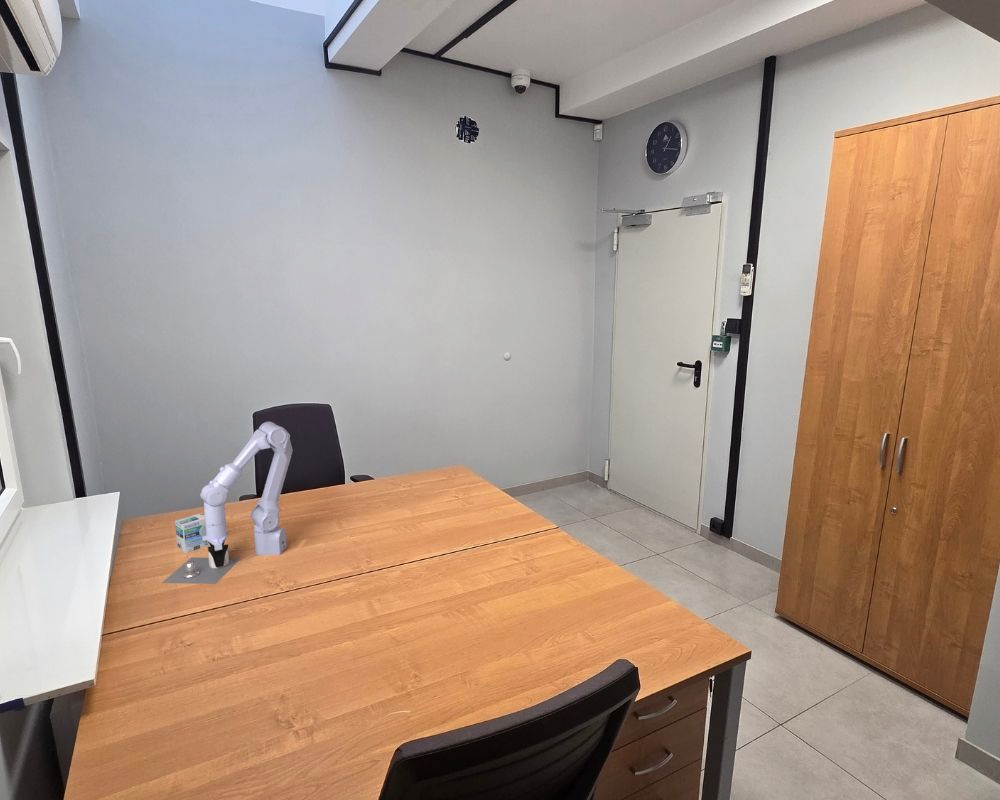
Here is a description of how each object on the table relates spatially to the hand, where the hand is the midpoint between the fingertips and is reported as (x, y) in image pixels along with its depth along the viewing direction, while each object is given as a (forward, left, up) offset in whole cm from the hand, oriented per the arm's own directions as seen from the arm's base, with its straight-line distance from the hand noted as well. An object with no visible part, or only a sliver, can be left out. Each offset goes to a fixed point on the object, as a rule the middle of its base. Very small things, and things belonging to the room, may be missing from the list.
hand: (219, 562), depth 175 cm
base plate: (+3, +4, -2) cm, 5 cm away
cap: (0, 0, -1) cm, 1 cm away
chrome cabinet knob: (+5, +7, -1) cm, 9 cm away
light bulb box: (+14, -13, -2) cm, 19 cm away
